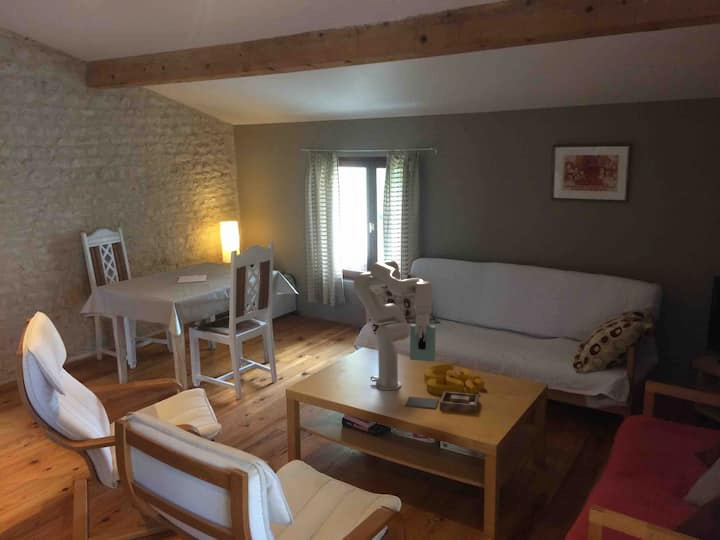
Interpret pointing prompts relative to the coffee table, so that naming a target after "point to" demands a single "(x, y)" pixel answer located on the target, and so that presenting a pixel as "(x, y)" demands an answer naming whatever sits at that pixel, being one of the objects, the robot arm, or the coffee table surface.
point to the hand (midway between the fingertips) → (422, 347)
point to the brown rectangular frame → (459, 406)
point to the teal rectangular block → (430, 344)
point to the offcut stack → (460, 399)
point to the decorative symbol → (451, 380)
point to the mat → (422, 402)
